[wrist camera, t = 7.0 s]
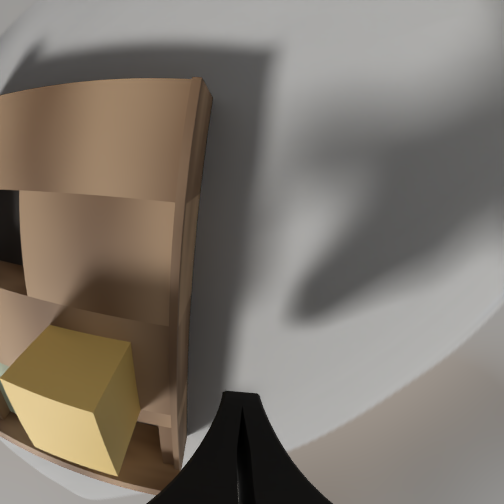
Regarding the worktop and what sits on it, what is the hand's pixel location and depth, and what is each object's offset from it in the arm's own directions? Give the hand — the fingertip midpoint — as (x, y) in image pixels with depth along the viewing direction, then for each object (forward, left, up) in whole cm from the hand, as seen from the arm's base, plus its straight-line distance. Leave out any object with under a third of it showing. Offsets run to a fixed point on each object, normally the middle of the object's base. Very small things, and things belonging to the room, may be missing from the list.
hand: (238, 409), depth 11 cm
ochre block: (-6, 0, -1) cm, 6 cm away
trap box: (-9, +2, -4) cm, 10 cm away
